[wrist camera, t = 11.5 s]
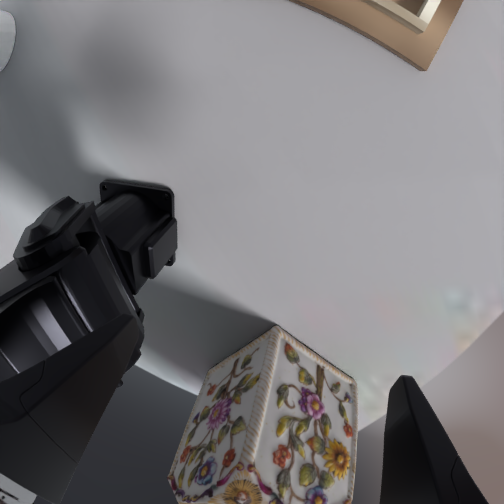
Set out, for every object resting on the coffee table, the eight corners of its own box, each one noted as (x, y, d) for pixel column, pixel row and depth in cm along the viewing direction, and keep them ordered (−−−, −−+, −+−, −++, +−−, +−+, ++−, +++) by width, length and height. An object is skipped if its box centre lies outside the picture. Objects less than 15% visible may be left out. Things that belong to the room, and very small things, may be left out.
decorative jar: (283, 415, 35) (252, 550, 20) (205, 369, 33) (145, 518, 18) (362, 380, 29) (352, 553, 14) (279, 319, 26) (223, 534, 11)
